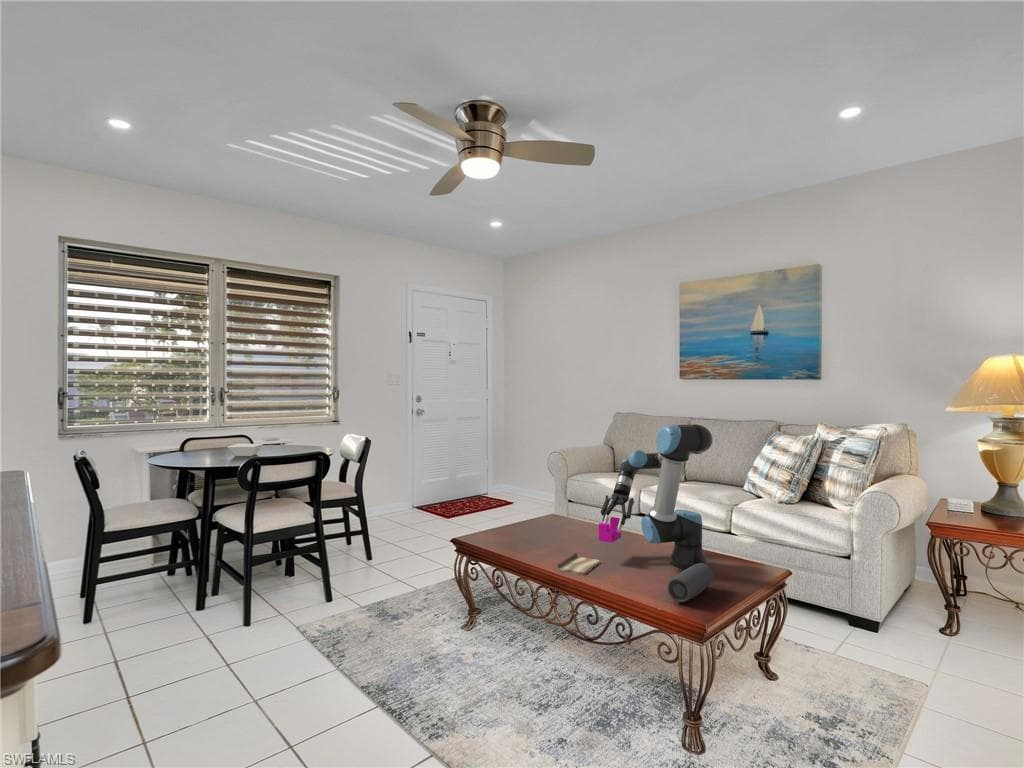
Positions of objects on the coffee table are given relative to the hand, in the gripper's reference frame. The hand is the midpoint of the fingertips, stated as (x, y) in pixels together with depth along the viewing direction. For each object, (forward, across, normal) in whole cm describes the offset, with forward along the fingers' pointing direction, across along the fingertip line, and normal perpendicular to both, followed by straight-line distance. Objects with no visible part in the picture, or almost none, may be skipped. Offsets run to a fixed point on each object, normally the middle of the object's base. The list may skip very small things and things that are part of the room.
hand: (611, 529), depth 244 cm
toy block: (+2, 0, -4) cm, 4 cm away
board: (+21, +9, +1) cm, 23 cm away
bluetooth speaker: (+28, -40, +7) cm, 49 cm away
